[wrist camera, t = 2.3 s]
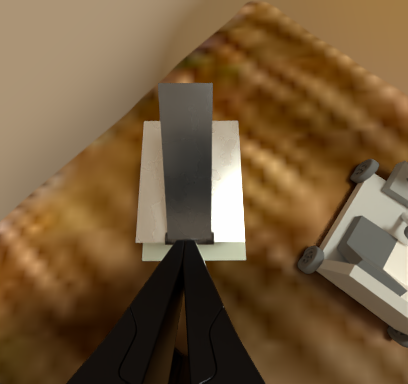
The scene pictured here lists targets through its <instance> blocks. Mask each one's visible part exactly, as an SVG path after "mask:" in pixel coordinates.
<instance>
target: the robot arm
mask: <svg viewBox="0 0 408 384" xmlns="http://www.w3.org/2000/svg"><path fill="white" fill-rule="evenodd" d="M183 294H184V295H185V311H186V328H187V344H188V356H187V355H184V356H183V355H182V354H181V353H180V352H179V351H178V350H177V349H176V348H175V347H174V346H175V340H176V334H177V329H178V323H179V317H180V311H181V306H182V300H183ZM66 384H265V382H264V380H263V379H262V377H261V375H260V373H259V372H258V370H257V368H256V367H255V365H254V363H253V361H252V360H251V358H250V356H249V355H248V353H247V351H246V349H245V348H244V346H243V344H242V342H241V340H240V339H239V337H238V335H237V333H236V331H235V329H234V327H233V325H232V323H231V321H230V319H229V316H228V314H227V312H226V310H225V308H224V305H223V303H222V301H221V298H220V296H219V294H218V292H217V289H216V287H215V285H214V283H213V280H212V278H211V276H210V273H209V271H208V269H207V267H206V264H205V262H204V260H203V258H202V255H201V253H200V251H199V248H198V246H197V244H196V242H195V240H186V242H185V240H176V241H175V242H174V244H173V245H172V247H171V248H170V249H169V251H168V252H167V254H166V255H165V256H164V258H163V259H162V261H161V262H160V263H159V265H158V266H157V268H156V269H155V270H154V272H153V273H152V275H151V276H150V277H149V279H148V280H147V282H146V283H145V284H144V286H143V287H142V289H141V290H140V291H139V293H138V294H137V296H136V297H135V298H134V300H133V301H132V303H131V304H130V307H128V308H127V310H126V311H125V312H124V314H123V315H122V317H121V318H120V319H119V321H118V322H117V323H116V325H115V326H114V327H113V329H112V330H111V331H110V332H109V334H108V335H107V336H106V337H105V339H104V340H103V341H102V342H101V343H100V345H99V346H98V347H97V348H96V349H95V351H94V352H93V353H92V354H91V355H90V356H89V358H88V359H87V360H86V361H85V362H84V363H83V365H82V366H81V367H80V368H79V369H78V370H77V372H76V373H75V374H74V375H73V376H72V377H71V379H70V380H69V381H68V382H67V383H66Z"/></svg>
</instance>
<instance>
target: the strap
mask: <svg viewBox="0 0 408 384" xmlns="http://www.w3.org/2000/svg"><path fill="white" fill-rule="evenodd" d="M212 90H213V83H158V92H159V108H160V124H161V140H162V156H163V172H164V187H165V203H166V219H167V232H166V233H165V245H173V244H174V242H175V241H176V240H185V242H186V240H195V242H196V244H197V245H214V232H211V210H212Z"/></svg>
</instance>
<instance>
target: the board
mask: <svg viewBox="0 0 408 384" xmlns="http://www.w3.org/2000/svg"><path fill="white" fill-rule="evenodd" d="M239 147H240V143H239ZM240 165H241V161H240ZM241 183H242V179H241ZM242 201H243V197H242ZM243 219H244V215H243ZM244 237H245V233H244ZM197 246H198V248H199V251H200V253H201V255H202V258H203V260H246V251H245V242H214V245H197ZM171 247H172V245H165V242H157V243H143V253H142V261H162V259H163V258H164V256H165V255H166V254H167V252H168V251H169V249H170V248H171Z"/></svg>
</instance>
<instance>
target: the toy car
mask: <svg viewBox="0 0 408 384" xmlns="http://www.w3.org/2000/svg"><path fill="white" fill-rule="evenodd" d="M378 167H379V163H378V162H376V161H375V160H373V159H368V160H366V161H364V162H362V163H361V164H360V165H359V166H357V167H356V169H355V172H354V173H353V174H352V176H351V177H350V179H351V180H352V181H354V182H355V183H358V184H357V186H356V187H355V189H354V191H353V192H352V194H351V196H350V197H349V199H348V201H347V202H346V204H345V206H344V207H343V209H342V210H341V212H340V214H339V215H338V217H337V219H336V220H335V222H334V224H333V225H332V227H331V229H330V230H329V232H328V234H327V235H326V237H325V239H324V240H323V242H322V244H321V245H320V247H319V248H318V247H317V246H311V247H309V248H307V249H306V250H305V252H304V255H303V257H302V258H301V259H300V260H299V262H298V268H299V269H300V270H301V271H303V272H304V273H306V274H310V273H313V272H314V271H317V272H319V273H320V274H321V275H323V276H324V277H325V278H327V279H328V280H329V281H331V282H332V283H333V284H335V285H336V286H337V287H339V288H340V289H341V290H343V291H344V292H345V293H347V294H348V295H349V296H351V297H352V298H353V299H355V300H356V301H358V302H359V303H360V304H362V305H363V306H364V307H366V308H367V309H368V310H370V311H371V312H372V313H374V314H375V315H376V316H378V317H379V318H380V319H382V320H383V321H384V322H386V323H387V324H388V325H390V326H389V327H388V329H387V332H388V334H389V335H390V337H391V338H392V339H393V340H395V341H396V342H397V343H399V344H400V345H402V346H404V347H407V348H408V162H406V161H403V162H401V163H398V164H396V166H395V167H394V169H393V171H392V173H391V174H390V176H389V178H388V180H387V181H385V180H384V179H382V178H381V177H379V176H378V175H376V174H374V173H375V172H376V171H377V169H378Z"/></svg>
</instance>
